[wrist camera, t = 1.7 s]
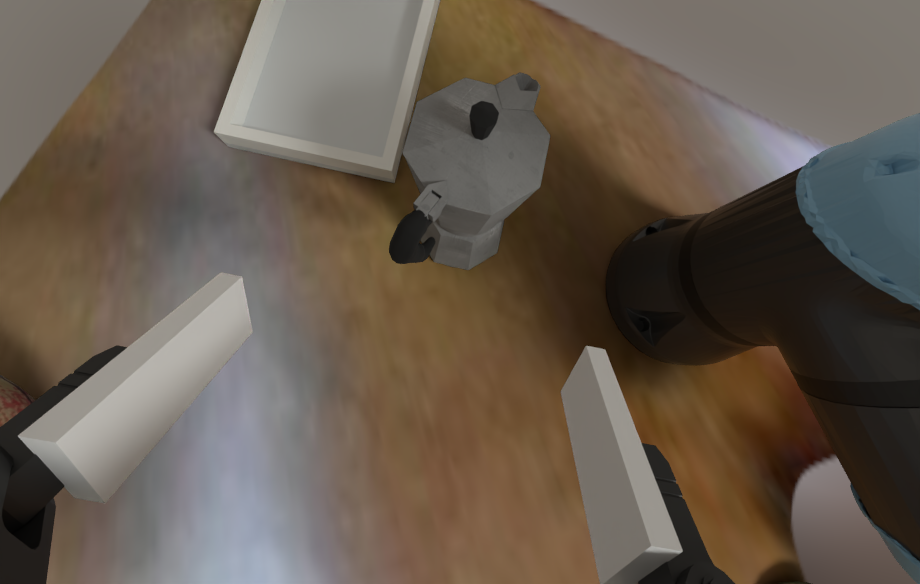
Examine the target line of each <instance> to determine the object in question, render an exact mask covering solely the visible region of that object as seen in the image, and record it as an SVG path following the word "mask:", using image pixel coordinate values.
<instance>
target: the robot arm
mask: <svg viewBox="0 0 920 584" xmlns="http://www.w3.org/2000/svg"><path fill="white" fill-rule="evenodd" d="M606 294H607V300H608V305H609V308H610V311H611V314H612V316H613V319H614V321H615V322H616V324H617V326H618V328H619V329H620V331H621V332H622V333H623V335H624V336H625V337H626V338H627V339H628V340H629V341H630V342H631V343H632V344H633V345H634V346H635V347H636V348H637V349H639V350H640V351H642V352H643V353H645V354H646V355H648V356H650V357H652V358H654V359H656V360H659V361H662V362H665V363H670V364H677V365H707V364H713V363H717V362H720V361H723V360H725V359H728V358H730V357H733V356H735V355H737V354H740V353H742V352H745V351H747V350H750V349H752V348H755V347H757V346H777V347H778V348H779V350H780V352H781V354H782V356H783V358H784V360H785V362H786V363H787V365H788V367H789V368H790V370H791V372H792V374H793V376H794V378H795V379H796V381H797V384H798V386H799V387H800V389H801V391H802V393H803V395H804V397H805V398H806V400H807V402H808V404H809V406H810V408H811V409H812V411H813V413H814V415H815V417H816V419H817V421H818V422H819V424H820V426H821V428H822V430H823V432H824V434H825V435H826V437H827V439H828V441H829V443H830V445H831V446H832V448H833V450H834V452H835V454H836V456H837V458H838V459H839V461H840V463H841V465H842V467H843V468H844V470H845V472H846V474H847V476H848V478H849V480H850V482H851V490H852V493H853V495H854V498H855V500H856V502H857V504H858V506H859V508H860V510H861V511H862V513H863V514H864V515H865V517H867V518H868V520H869V521H870V523H871V524H872V526H873V527H874V528H875V529H876V530H877V531H878V532H879V534H880V535H881V537H882V539H883V540H884V542H885V544H886V545H887V547H888V549H889V550H890V552H891V553H892V555H893V556H894V558H895V559H896V560H897V562H898V563H899V564H900V565H901V566H902V568H903V569H904V570H905V571H906V572H907V573H908V574H909V575H910V577H911V578H912V579H913V580H914V581H915V582H916V583H918V584H920V113H918V114H915V115H912V116H909V117H906V118H904V119H901V120H898V121H896V122H894V123H892V124H890V125H887V126H885V127H883V128H881V129H878V130H876V131H874V132H872V133H870V134H867V135H865V136H863V137H861V138H858V139H856V140H854V141H852V142H848V143H844V144H840V145H837V146H834V147H831V148H829V149H827V150H825V151H823V152H821V153H820V154H818V155H816V156H814V157H813V158H811V159H810V160H809V162H808V163H807V164H806V165H805V166H803V167H801V168H799V169H797V170H795V171H793V172H791V173H789V174H787V175H785V176H783V177H781V178H779V179H777V180H775V181H773V182H771V183H769V184H766V185H764V186H762V187H760V188H758V189H756V190H754V191H752V192H750V193H748V194H746V195H744V196H742V197H740V198H738V199H736V200H734V201H732V202H730V203H728V204H726V205H724V206H722V207H720V208H718V209H716V210H714V211H712V212H710V213H704V214H695V215H685V216H676V217H669V218H664V219H660V220H657V221H655V222H652V223H650V224H648V225H646V226H644V227H643V228H641V229H639V230H638V231H636V232H634V233H633V234H631V235H630V236H629V237H627V238H626V239H625V240H624V241H623V242H622V243H621V244H620V246H619V247H618V248H617V250H616V251H615V253H614V255H613V257H612V259H611V261H610V264H609V267H608V271H607V277H606ZM252 332H253V331H252V326H251V321H250V315H249V310H248V305H247V300H246V295H245V290H244V285H243V279H242V277H241V276H236V275H231V274H226V273H220V274H218V275H217V276H216V277H215V278H213V279H212V280H211V281H210V282H208V283H207V284H206V285H205V286H203V287H202V288H201V289H200V290H198V291H197V292H196V293H195V294H193V295H192V296H191V297H190V298H188V299H187V300H186V301H185V302H183V303H182V304H181V305H180V306H178V307H177V308H176V309H175V310H174V311H172V312H171V313H170V314H169V315H167V316H166V317H165V318H164V319H162V320H161V321H160V322H159V323H157V324H156V325H155V326H154V327H152V328H151V329H150V330H149V331H147V332H146V333H145V334H144V335H142V336H141V337H140V338H139V339H137V340H136V341H135V342H134V343H132V344H131V345H130V346H129V347H123V346H115V347H112V348H110V349H108V350H106V351H104V352H102V353H100V354H98V355H95V356H93V357H92V358H91V359H89V360H88V361H87V362H85V363H84V364H83V365H81V366H80V367H79V368H77V369H76V370H75V371H74V373H73V374H70V375H68V376H67V377H66V378H64V379H63V380H62V381H60V382H59V384H58V386H54V387H52V388H51V389H50V390H48V391H47V392H46V393H44V394H43V395H42V396H41V397H39V398H38V399H37V400H35V401H34V402H33V403H31V404H30V405H29V406H27V407H26V408H25V409H23V410H22V411H21V412H19V413H18V414H17V415H15V416H14V417H13V418H11V419H10V420H9V421H8V422H6V423H5V424H4V425H2V426H1V427H0V584H46V580H47V572H48V564H49V556H50V549H51V541H52V533H53V525H54V517H55V509H56V506H55V501H54V499H53V498H54V496H55V495H56V494H57V493H58V492H59V491H60V490H61V489H62V488H63V487H65V488H66V489H67V490H68V492H69V493H70V494H71V495H72V496H73V497H74V498H77V499H83V500H89V501H95V502H101V503H106V502H107V501H108V500H109V499H110V497H111V496H112V495H113V494H114V493H115V492H116V491H117V489H118V488H119V487H120V486H121V485H122V484H123V482H124V481H125V480H126V479H127V478H128V477H129V475H130V474H131V473H132V472H133V471H134V470H135V468H136V467H137V466H138V465H139V464H140V463H141V461H142V460H143V459H144V458H145V457H146V456H147V454H148V453H149V452H150V451H151V450H152V449H153V448H154V446H155V445H156V444H157V443H158V442H159V441H160V439H161V438H162V437H163V436H164V435H165V434H166V432H167V431H168V430H169V429H170V428H171V427H172V425H173V424H174V423H175V422H176V421H177V420H178V418H179V417H180V416H181V415H182V414H183V413H184V411H185V410H186V409H187V408H188V407H189V406H190V405H191V403H192V402H193V401H194V400H195V399H196V398H197V396H198V395H199V394H200V393H201V392H202V391H203V389H204V388H205V387H206V386H207V385H208V384H209V382H210V381H211V380H212V379H213V378H214V377H215V375H216V374H217V373H218V372H219V371H220V370H221V368H222V367H223V366H224V365H225V364H226V363H227V362H228V360H229V359H230V358H231V357H232V356H233V355H234V353H235V352H236V351H237V350H238V349H239V348H240V346H241V345H242V344H243V343H244V342H245V341H246V339H247V338H248V337H249V336H250V335H251V334H252ZM561 396H562V401H563V405H564V410H565V415H566V420H567V425H568V430H569V435H570V439H571V444H572V449H573V454H574V459H575V464H576V469H577V474H578V478H579V483H580V488H581V493H582V498H583V503H584V508H585V513H586V517H587V522H588V527H589V532H590V537H591V542H592V547H593V551H594V556H595V561H596V566H597V571H598V576H599V581H600V584H637V583H638V584H735V583H734V582H733V581H732V580H731V579H730V578H729V577H728V576H727V575H726V574H725V573H724V572H723V571H721V570H720V569H718V568H717V567H715V566H714V564H713V563H712V561H711V559H710V557H709V555H708V553H707V551H706V548H705V546H704V544H703V541H702V539H701V537H700V534H699V532H698V530H697V527H696V525H695V523H694V521H693V518H692V516H691V514H690V511H689V509H688V507H687V504H686V502H685V500H684V499H683V498H682V493H681V491H680V488H679V486H678V484H676V479H675V477H674V474H673V472H672V470H671V467H670V465H669V463H668V461H667V460H666V459H665V458H664V456H663V455H662V454H661V452H660V451H659V450H658V448H657V447H656V446H654V445H649V444H643V443H641V441H640V438H639V436H638V433H637V431H636V428H635V425H634V423H633V420H632V418H631V415H630V413H629V410H628V407H627V405H626V402H625V400H624V397H623V394H622V392H621V389H620V387H619V384H618V381H617V379H616V376H615V374H614V371H613V368H612V366H611V363H610V361H609V358H608V355H607V353H606V350H605V349H601V348H596V347H591V346H586V347H585V348H584V350H583V352H582V354H581V356H580V357H579V359H578V361H577V363H576V365H575V367H574V368H573V370H572V372H571V374H570V376H569V377H568V379H567V381H566V383H565V385H564V386H563V388H562V390H561Z"/></svg>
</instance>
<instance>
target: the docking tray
mask: <svg viewBox="0 0 920 584" xmlns="http://www.w3.org/2000/svg"><path fill="white" fill-rule="evenodd" d="M439 3H440V0H261V3H260V5H259V8H258V11H257V14H256V17H255V19H254V22H253V25H252V28H251V30H250V33H249V36H248V39H247V41H246V44H245V47H244V50H243V52H242V55H241V58H240V61H239V64H238V66H237V69H236V72H235V75H234V77H233V80H232V83H231V86H230V88H229V91H228V94H227V97H226V99H225V102H224V105H223V108H222V111H221V113H220V116H219V119H218V122H217V124H216V127H215V130H214V133H215V134H216V135H217V136H218V137H219V138H220V139H221V140H222V141H223V142H224V143H225V144H226V145H227V146H228V147H231V148H236V149H240V150H245V151H249V152H254V153H259V154H263V155H268V156H272V157H277V158H282V159H286V160H291V161H295V162H300V163H304V164H309V165H314V166H318V167H323V168H327V169H332V170H337V171H341V172H346V173H350V174H355V175H359V176H364V177H369V178H373V179H378V180H382V181H387V182H392V183H395V179H396V175H397V171H398V167H399V163H400V159H401V155H402V151H403V147H404V143H405V139H406V135H407V131H408V127H409V123H410V119H411V115H412V111H413V107H414V103H415V99H416V95H417V91H418V87H419V83H420V79H421V75H422V71H423V67H424V63H425V59H426V55H427V51H428V47H429V43H430V39H431V35H432V31H433V27H434V23H435V19H436V15H437V11H438V7H439Z"/></svg>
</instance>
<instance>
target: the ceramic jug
mask: <svg viewBox="0 0 920 584" xmlns="http://www.w3.org/2000/svg"><path fill="white" fill-rule="evenodd" d="M34 401H35V399H34V398H33V397H31V396H30V395H29V394H28V393H26V392H25V391H24V390H23V389H21V388H20V387H19V386H17V385H16V384H15V383H13V382H12V381H10V380H8V379H6V378H5V377H3V376H1V375H0V427H1V426H2V425H4V424H5V423H6V422H8V421H9V420H10V419H11V418H13V417H14V416H15V415H17V414H18V413H19V412H21V411H22V410H23V409H25V408H26V407H27V406H29V405H30V404H31V403H33V402H34Z"/></svg>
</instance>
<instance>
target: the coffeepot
mask: <svg viewBox="0 0 920 584" xmlns="http://www.w3.org/2000/svg"><path fill="white" fill-rule="evenodd" d="M539 90H540V85H539V83H538V82H537V81H536V80H533V79H532V78H531V77H530V76H529V75H527V74H524V73H518V74H516V75H512V76H511V77H509V78H507V79H505V80H503V81H502V82H500V83H498V84H496V85H492V84H488V83H484V82H480V81H476V80H472V79H469V78H464V79H462V80H460V81H458V82H456V83H454V84H452V85H450V86H448V87H446V88H444V89H442V90H440V91H438V92H436V93H434V94H432V95H430V96H428V97H426V98H424V99H421V100H419V101H417V103H416V107H415V110H414V114H413V117H412V121H411V124H410V128H409V131H408V135H407V138H406V142H405V145H404V149H403V152H402V153H403V155H404V157H405V159H406V161H407V163H408V166H409V168H410V170H411V173H412V175H413V177H414V180H415V182H416V184H417V187H418V189H419V191H420V196H419V197H418V198H417V199H416V201H415V202H414V203H413V204H414V209H415V210H414V211H413V212H412V213H410V214H408V215H406V216H405V217H404V218H403V219H402V220H401V222H400V223H399V224H398V226H397V228H396V230H395V233H394V235H393V237H392V239H391V242H390V246H389V253H390V255H391V258H392V260H393V261H395V262H396V263H399V264H406V263H416V262H423V261H424V260H426V259H427V258H428V256H429V255H430V256H431V258H432V259H433V261H434V262H436V263H441V264H444V265H447V266H450V267H457V268H461V269H465V270H469V269H471V268H473V267H474V266H476V265H478V264H480V263H482V262H483V261H484V260H486V259H488V258H489V257H491V256H493V255H494V254H496V253H497V251H498V247H499V242H500V238H501V233H502V228H503V224H504V219H505V218H507V217H508V216H509V215H510V214H511V213H512V212H513V211H514V210H516V209H517V208H518V207H519V206H520V205H521V204H522V203H523V202H524V201H525V200H526V199H528V198H529V197H530V196H531V195H532V194H533V193H534V192H535V191H536V190H537V189H539V188H540V185H541V180H542V175H543V170H544V165H545V160H546V155H547V150H548V145H549V140H550V135H549V133H548V132H547V130H546V129H545V127H544V126H543V125H542V123H541V122H540V120H539V119H538V117H537V116H536V115H535V113H534V112H533V110H534V107H535V103H536V100H537V97H538V93H539ZM420 240H421V242H422V244H420V243H419V241H420Z"/></svg>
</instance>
